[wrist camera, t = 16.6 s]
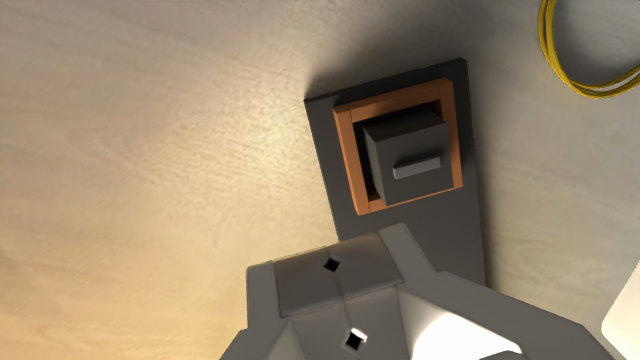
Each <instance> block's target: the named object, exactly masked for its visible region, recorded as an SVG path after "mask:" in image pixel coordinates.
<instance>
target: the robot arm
mask: <svg viewBox="0 0 640 360" xmlns="http://www.w3.org/2000/svg"><path fill="white" fill-rule="evenodd" d="M246 291H247V321H248V328H247V329H244V330H241V331H239V332H238V334H237V335H236V337H235V338H234V339H233V341H232V342H231V344H230V345H229V347H228V348H227V349H226V351H225V352H224V354H223V355H222V356H221V358H220V359H219V360H615V359H614V358H613V357H612V356H611V355H610V354H609V352H608V351H607V350H606V349H605V348H604V347H603V346H602V345H601V344H600V343H599V342H598V341H597V340H596V339H595V338H594V337H593V336H592V335H591V333H590V332H589V331H588V330H587V329H586V328H585V327H584V326H583V325H581V324H579V323H576V322H574V321H571V320H568V319H566V318H563V317H561V316H558V315H556V314H553V313H551V312H548V311H546V310H543V309H541V308H538V307H535V306H533V305H530V304H528V303H525V302H523V301H520V300H518V299H515V298H513V297H510V296H508V295H505V294H502V293H500V292H497V291H495V290H492V289H490V288H487V287H485V286H482V285H480V284H477V283H475V282H472V281H469V280H467V279H464V278H462V277H459V276H457V275H454V274H452V273H449V272H447V271H442V272H438V273H436V271H435V270H434V268H433V266H432V265H431V263H430V262H429V260H428V259H427V257H426V256H425V254H424V253H423V251H422V250H421V248H420V246H419V245H418V243H417V242H416V240H415V239H414V237H413V236H412V234H411V233H410V231H409V230H408V228H407V227H406V225H405V224H403V223H398V224H395V225H392V226H389V227H386V228H383V229H380V230H377V231H375V232H372V233H368V234H365V235H362V236H359V237H355V238H352V239H349V240H345V241H342V242H339V243H336V244H332V245H329V246H323V247H319V248H315V249H312V250H308V251H304V252H300V253H296V254H293V255H289V256H285V257H281V258H278V259H275V260H270V261H267V262H263V263H260V264H256V265H253V266H249V267H248V268H247V270H246Z"/></svg>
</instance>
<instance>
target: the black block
mask: <svg viewBox="0 0 640 360" xmlns="http://www.w3.org/2000/svg"><path fill="white" fill-rule="evenodd" d="M361 129H362V134H363V139H364V144H365V150H366V155H367V160H368V165H369V170H370V175H371V180H372V183H373V185H374V187H375V188H376V190H377V192H378V193H379V195H380V197H381V198H382V200H383V202H384V203H385V205H386V206H390V205H394V204H397V203H401V202H405V201H408V200H412V199H415V198H419V197H423V196H426V195H430V194H433V193H437V192H441V191H444V190H448V189H451V188H454V183H453V174H452V165H451V156H450V146H449V137H448V128H447V122H446V121H444V120H443V119H442V118H440V117H439V116H438V115H436V114H435V113H434V112H432V111H431V110H430V109H428V108H427V107H426V106H424V107H421V108H417V109H413V110H410V111H406V112H402V113H398V114H395V115H391V116H387V117H384V118H380V119H376V120H373V121H369V122H365V123H361Z"/></svg>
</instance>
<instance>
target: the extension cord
mask: <svg viewBox="0 0 640 360" xmlns="http://www.w3.org/2000/svg"><path fill="white" fill-rule="evenodd" d="M556 1H557V0H549V1H548V4H547V8H546V13H545V18H546V38H547V46H548V49H547V46H546V42H545V38H544V30H543V18H544V11H545V7H546V3H547V0H542V2H541V6H540V10H539V17H538V33H539V40H540V44H541V48H542V50H543V53H544V55H545V58H546V59H547V61H548V63H549V65H550V66H551V67H552V68H553V70H554V71H555V72H556V74H557V75H558V76H559V78H560V79H561V80H562V81H564V82H565V83H566V84H567V85H569V86H570V87H571V88H572V89H573V90H574V91H576V92H577V93H579V94H580V95H582V96H585V97H588V98H607V97H612V96H616V95H619V94H622V93H624V92H626V91H628V90H630V89H632V88H634V87H635V86H637V85H639V84H640V73H639V74H638V75H637V76H636V77H635V78H633V79H632V80H630V81H629V82H627V83H626V84H624V85H622V86H620V87H618V88H616V89H613V90H609V91H593V90H589V89H597V88H604V87H608V86H611V85H614V84H616V83H619V82H621V81H623V80H625V79H626V78H628V77H630V76H631V75H633V74H634V73H636V72H638V71H639V70H640V64H639V65H638V66H637V67H635V68H634V69H632V70H631V71H629V72H628V73H626V74H625V75H623V76H621V77H619V78H617V79H615V80H612V81H610V82H606V83H602V84H593V85H589V84H584V83H580V82H578V81H576V80H573V79H572V78H570V77H569V76H567V75H566V74H565V72H564V70H563V68H562V66H561V64H560V62H559V59H558V56H557V53H556V49H555V44H554V38H553V14H554V8H555V4H556ZM586 88H589V89H586Z"/></svg>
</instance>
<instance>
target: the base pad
mask: <svg viewBox="0 0 640 360" xmlns="http://www.w3.org/2000/svg"><path fill="white" fill-rule="evenodd" d="M304 104H305V108H306V112H307V116H308V120H309V124H310V128H311V132H312V136H313V140H314V144H315V148H316V152H317V156H318V160H319V164H320V168H321V172H322V176H323V180H324V184H325V188H326V192H327V196H328V200H329V204H330V208H331V212H332V216H333V220H334V224H335V228H336V232H337V236H338V240H339V242H342V241H345V240H349V239H352V238H355V237H359V236H362V235H365V234H368V233H372V232H375V231H377V230H380V229H383V228H386V227H389V226H392V225H395V224H398V223H403V224H405V225H406V227H407V228H408V230H409V231H410V233H411V234H412V236H413V237H414V239H415V240H416V242H417V243H418V245H419V246H420V248H421V250H422V251H423V253H424V254H425V256H426V257H427V259H428V260H429V262H430V263H431V265H432V266H433V268H434V270H435V271H436V273H438V272H442V271H447V272H449V273H452V274H454V275H457V276H459V277H462V278H464V279H467V280H469V281H472V282H475V283H477V284H480V285H482V286H485V287H486V280H485V268H484V256H483V245H482V233H481V221H480V209H479V197H478V185H477V174H476V162H475V150H474V138H473V126H472V114H471V103H470V91H469V79H468V67H467V60H466V59H463V58H457V59H454V60H450V61H446V62H442V63H439V64H435V65H431V66H428V67H424V68H420V69H416V70H413V71H409V72H405V73H401V74H398V75H394V76H390V77H386V78H383V79H379V80H375V81H372V82H368V83H364V84H360V85H357V86H353V87H349V88H345V89H342V90H338V91H334V92H331V93H327V94H323V95H319V96H316V97H312V98H308V99H304ZM424 106H426V107H427V108H428V109H430V110H431V111H432V112H434V113H435V114H436V115H438V116H439V117H440V118H442V119H443V120H444V121H446V122H447V128H448V137H449V146H450V156H451V165H452V174H453V183H454V188H451V189H448V190H444V191H441V192H437V193H433V194H430V195H426V196H423V197H419V198H415V199H412V200H408V201H405V202H401V203H397V204H394V205H390V206H386V205H385V203H384V202H383V200H382V198H381V197H380V195H379V193H378V192H377V190H376V188H375V187H374V185H373V183H372V180H371V175H370V170H369V165H368V160H367V155H366V150H365V144H364V139H363V134H362V129H361V123H365V122H369V121H373V120H376V119H380V118H384V117H387V116H391V115H395V114H398V113H402V112H406V111H410V110H413V109H417V108H421V107H424Z"/></svg>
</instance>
